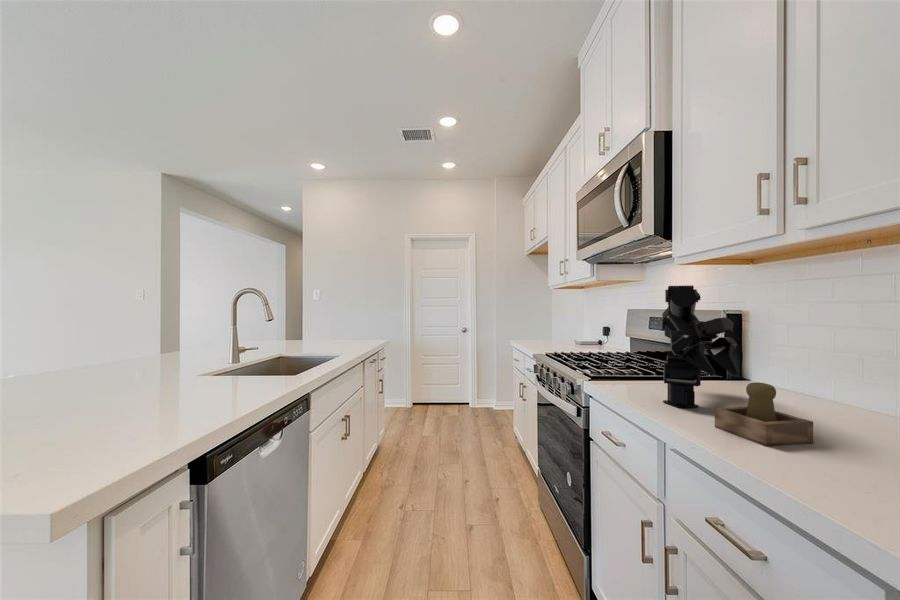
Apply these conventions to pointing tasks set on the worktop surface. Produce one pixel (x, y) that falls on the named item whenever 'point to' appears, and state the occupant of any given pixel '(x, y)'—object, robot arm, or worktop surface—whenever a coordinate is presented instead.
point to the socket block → (764, 427)
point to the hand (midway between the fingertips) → (725, 374)
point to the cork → (761, 402)
